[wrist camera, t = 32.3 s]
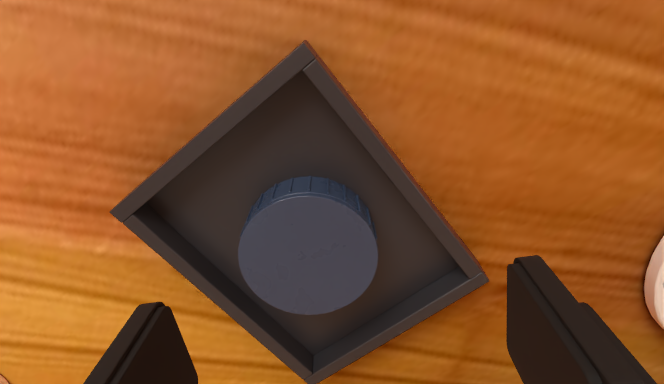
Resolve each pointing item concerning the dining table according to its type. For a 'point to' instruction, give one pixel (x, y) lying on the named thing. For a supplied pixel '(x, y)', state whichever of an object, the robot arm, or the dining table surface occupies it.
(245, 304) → the tray
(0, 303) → the dining table surface
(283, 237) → the cap
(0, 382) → the jar
